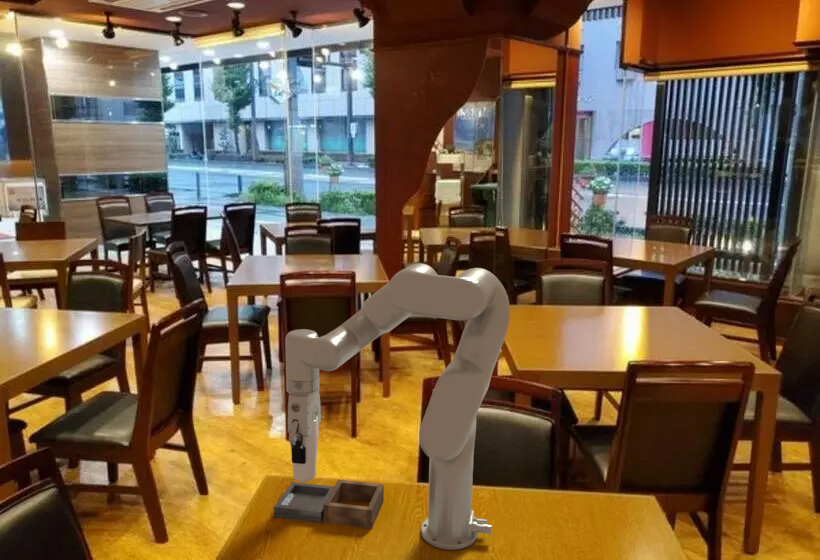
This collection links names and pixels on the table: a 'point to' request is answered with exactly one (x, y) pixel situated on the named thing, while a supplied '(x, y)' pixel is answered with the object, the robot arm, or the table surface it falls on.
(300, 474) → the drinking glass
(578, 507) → the table surface
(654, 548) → the table surface
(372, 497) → the frame
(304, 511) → the metal cradle
